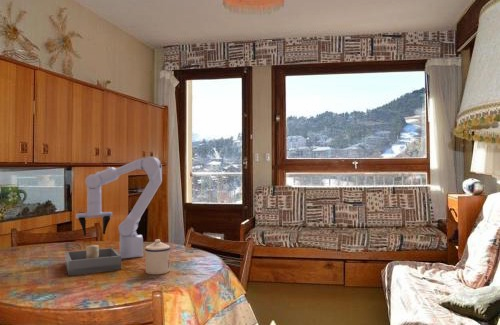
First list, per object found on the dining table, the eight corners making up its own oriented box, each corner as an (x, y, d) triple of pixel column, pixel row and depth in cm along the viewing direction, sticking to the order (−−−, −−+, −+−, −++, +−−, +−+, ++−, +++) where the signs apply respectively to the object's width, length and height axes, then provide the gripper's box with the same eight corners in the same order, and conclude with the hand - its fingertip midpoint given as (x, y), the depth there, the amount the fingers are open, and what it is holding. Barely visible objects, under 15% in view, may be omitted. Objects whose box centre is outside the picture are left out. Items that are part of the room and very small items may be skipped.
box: (113, 259, 172) (113, 247, 172) (121, 269, 156) (121, 256, 156) (65, 264, 164) (65, 252, 164) (68, 275, 148) (68, 261, 148)
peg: (96, 265, 163) (96, 244, 163) (100, 267, 160) (100, 246, 160) (84, 266, 160) (84, 246, 160) (88, 269, 157) (88, 247, 157)
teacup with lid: (174, 272, 152) (174, 240, 152) (150, 276, 146) (150, 242, 147) (161, 266, 161) (161, 235, 162) (138, 269, 156) (138, 238, 156)
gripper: (110, 201, 185) (110, 231, 185) (75, 202, 178) (75, 234, 178) (113, 202, 179) (113, 234, 179) (76, 203, 172) (76, 237, 172)
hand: (94, 234), depth 178 cm, fingers open, 7 cm apart
